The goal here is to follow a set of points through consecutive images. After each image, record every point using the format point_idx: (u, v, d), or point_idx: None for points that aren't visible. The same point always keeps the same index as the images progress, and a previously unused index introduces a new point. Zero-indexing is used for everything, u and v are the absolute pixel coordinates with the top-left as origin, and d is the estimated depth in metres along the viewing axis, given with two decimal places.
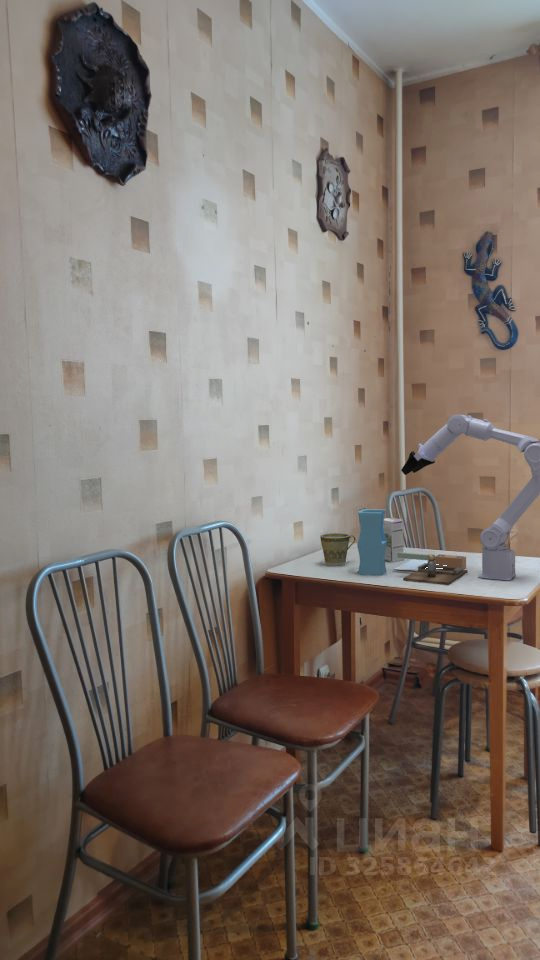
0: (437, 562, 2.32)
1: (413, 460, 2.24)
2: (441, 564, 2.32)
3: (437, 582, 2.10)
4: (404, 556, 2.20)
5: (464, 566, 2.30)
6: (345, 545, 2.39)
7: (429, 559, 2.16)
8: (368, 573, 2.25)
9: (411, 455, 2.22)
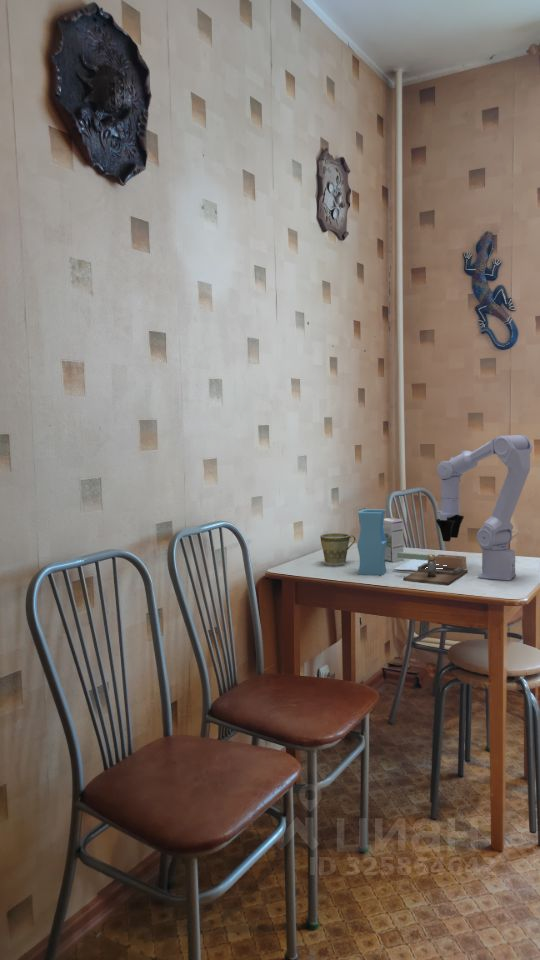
0: (437, 562, 2.32)
1: (444, 524, 2.27)
2: (441, 564, 2.32)
3: (437, 582, 2.10)
4: (404, 556, 2.20)
5: (464, 566, 2.30)
6: (345, 545, 2.39)
7: (429, 559, 2.16)
8: (368, 573, 2.25)
9: (438, 521, 2.27)
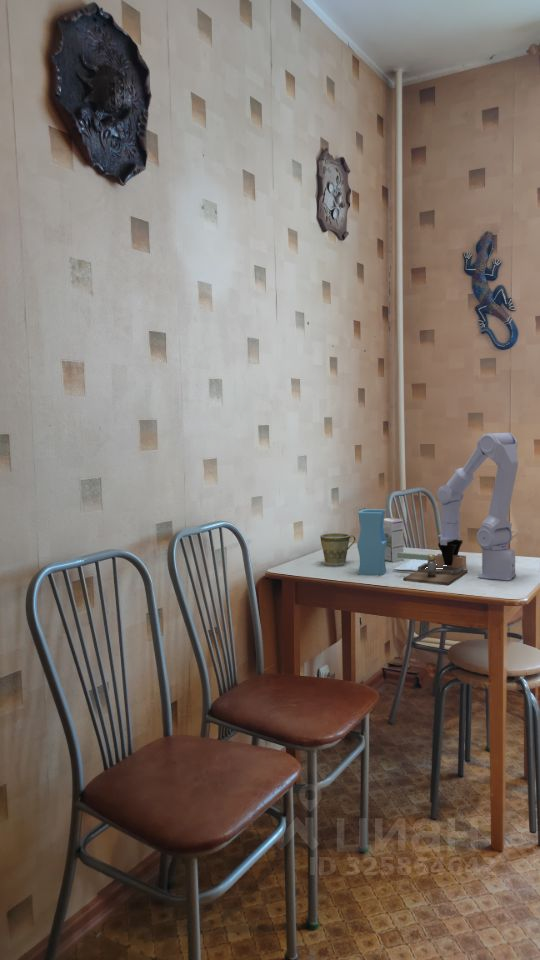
0: (437, 561, 2.32)
1: (446, 548, 2.29)
2: (441, 563, 2.32)
3: (437, 582, 2.10)
4: (404, 556, 2.20)
5: (464, 565, 2.30)
6: (345, 545, 2.39)
7: (429, 559, 2.16)
8: (368, 573, 2.25)
9: (440, 545, 2.29)
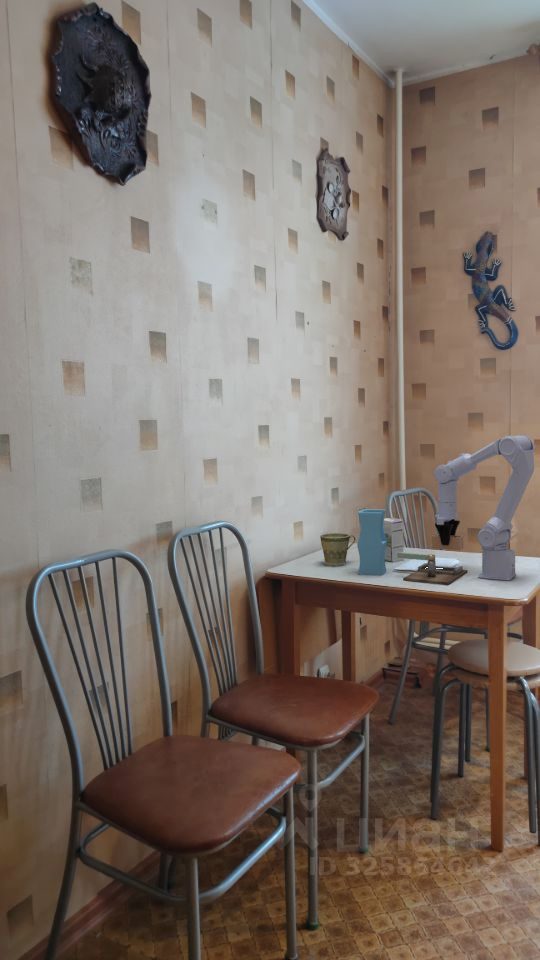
0: (434, 542, 2.29)
1: (443, 528, 2.26)
2: (438, 544, 2.29)
3: (437, 582, 2.10)
4: (404, 556, 2.20)
5: (461, 545, 2.27)
6: (345, 545, 2.39)
7: (429, 559, 2.16)
8: (368, 573, 2.25)
9: (437, 525, 2.26)
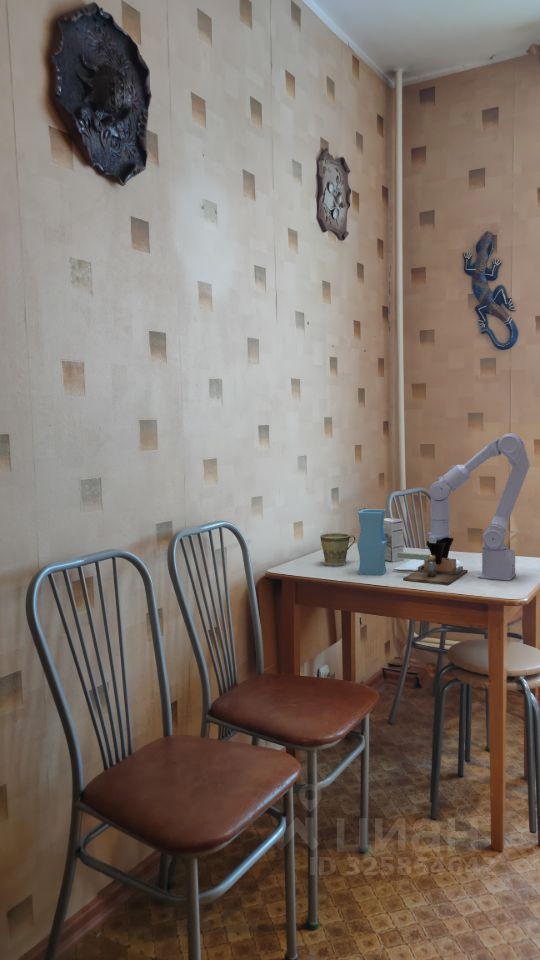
0: (426, 565, 2.24)
1: (434, 547, 2.20)
2: None
3: (437, 582, 2.10)
4: (404, 556, 2.20)
5: (454, 569, 2.21)
6: (345, 545, 2.39)
7: (429, 559, 2.16)
8: (368, 573, 2.25)
9: (428, 544, 2.19)
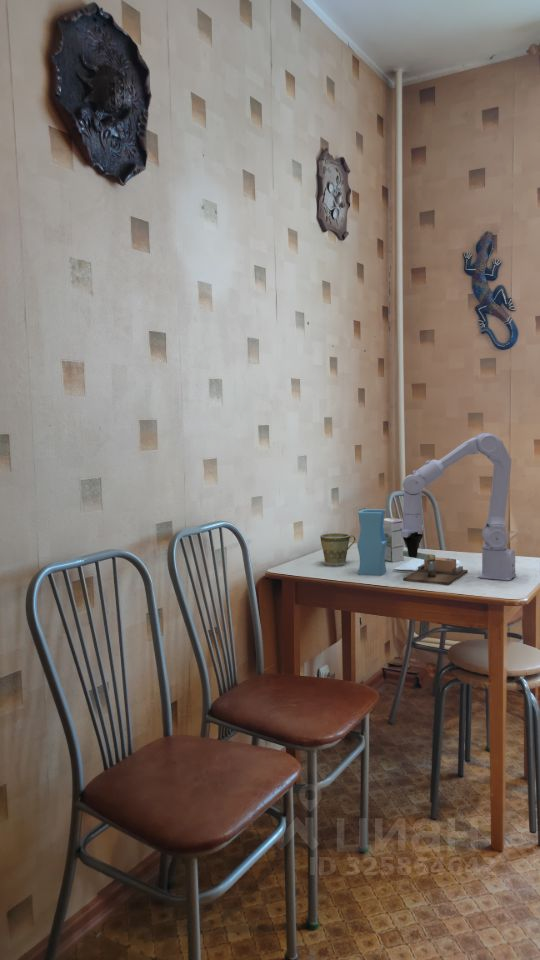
0: (426, 565, 2.24)
1: (410, 540, 2.20)
2: None
3: (437, 582, 2.10)
4: None
5: (454, 569, 2.21)
6: (345, 545, 2.39)
7: (428, 559, 2.16)
8: (368, 573, 2.25)
9: (404, 537, 2.19)
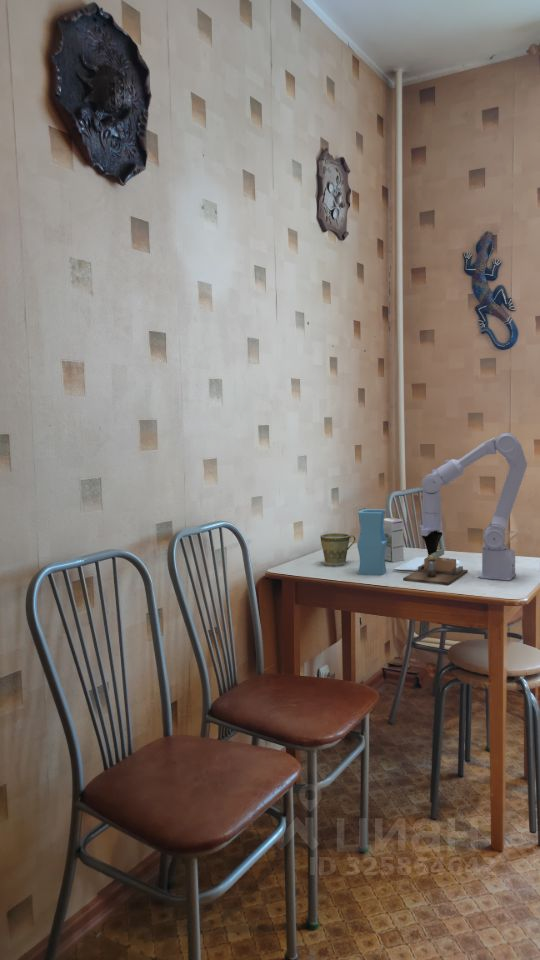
0: (426, 565, 2.24)
1: (429, 538, 2.22)
2: None
3: (437, 582, 2.10)
4: None
5: (454, 569, 2.21)
6: (345, 545, 2.39)
7: None
8: (368, 573, 2.25)
9: (423, 535, 2.21)
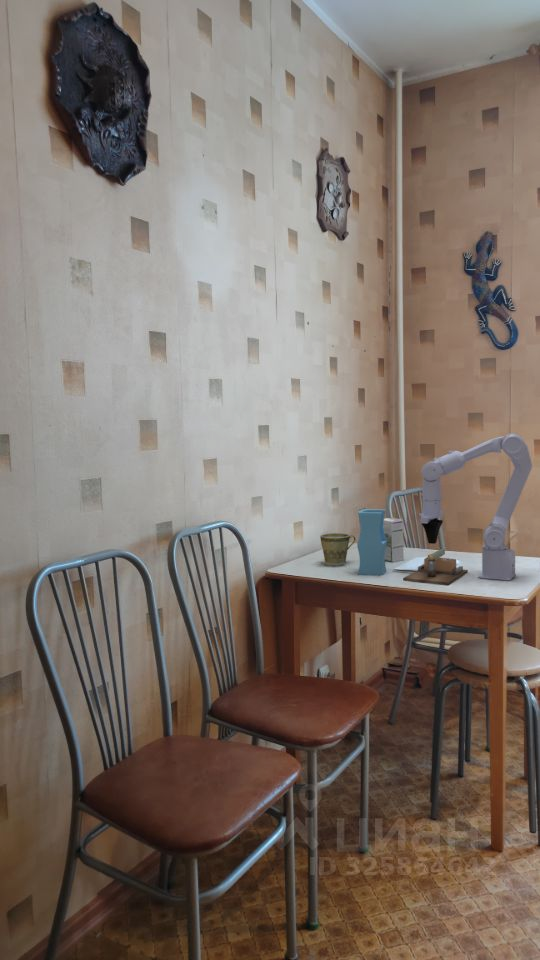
0: (426, 565, 2.24)
1: (429, 526, 2.22)
2: None
3: (437, 582, 2.10)
4: None
5: (454, 569, 2.21)
6: (345, 545, 2.39)
7: None
8: (368, 573, 2.25)
9: (423, 523, 2.21)
